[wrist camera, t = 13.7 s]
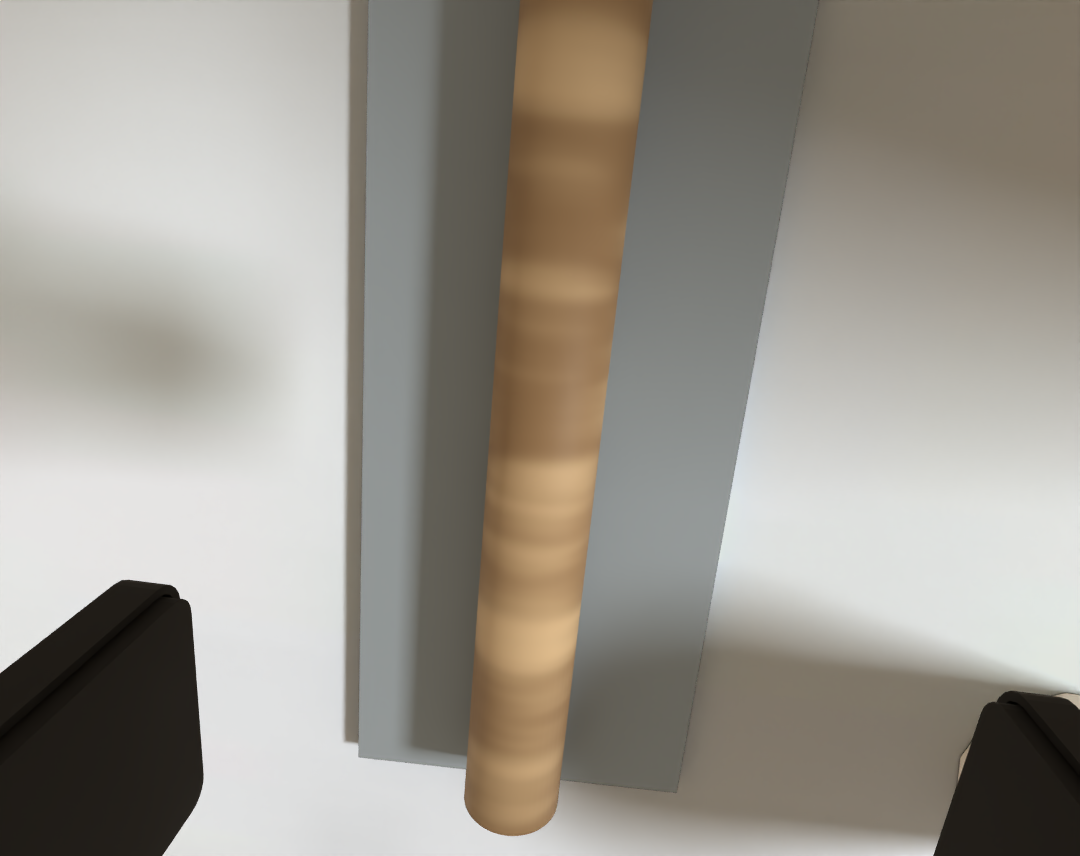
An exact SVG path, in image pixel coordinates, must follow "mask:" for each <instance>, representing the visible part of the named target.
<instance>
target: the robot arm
mask: <svg viewBox="0 0 1080 856" xmlns="http://www.w3.org/2000/svg"><path fill="white" fill-rule="evenodd" d="M202 785H203V761H202V748H201V734H200V721H199V707H198V694H197V681H196V667H195V654H194V640H193V627H192V614H191V607H190V605H189V603H188V601H186V600H184V599H180V596H179V593H178V591H177V590H176V588H175V587H173V586H171V585H165V584H157V583H149V582H141V581H133V580H121V581H120V582H118V583H116V584H114V585H113V586H112V587H110V588H109V589H108V590H107V591H105V592H104V593H103V594H101V595H100V596H99V597H98V598H96V599H95V600H94V601H92V602H91V603H90V604H89V605H87V606H86V607H85V608H83V609H82V610H81V611H80V612H78V613H77V614H76V615H74V616H73V617H72V618H71V619H69V620H68V621H67V622H65V623H64V624H63V625H62V626H60V627H59V628H58V629H56V630H55V631H54V632H53V633H51V634H50V635H49V636H48V637H46V638H45V639H44V640H42V641H41V642H40V643H39V644H37V645H36V646H35V647H33V648H32V649H31V650H30V651H28V652H27V653H26V654H24V655H23V656H22V657H21V658H19V659H18V660H17V661H15V662H14V663H13V664H12V665H10V666H9V667H8V668H6V669H5V670H4V671H3V672H1V673H0V856H162V855H163V854H164V852H165V851H166V849H167V848H168V847H169V845H170V844H171V842H172V841H173V839H174V838H175V836H176V835H177V833H178V832H179V830H180V829H181V827H182V826H183V824H184V823H185V821H186V820H187V819H188V817H189V816H190V814H191V813H192V811H193V809H194V808H195V806H196V804H197V801H198V799H199V797H200V793H201V790H202ZM933 856H1080V709H1079V708H1078V707H1077V706H1076V705H1074V704H1073V703H1072V702H1071V701H1069V700H1068V699H1065V698H1062V697H1056V696H1048V695H1040V694H1032V693H1024V692H1017V691H1009V692H1005V693H1003V694H1002V695H1001V696H1000V697H999V699H998V700H997V702H991V703H988V704H987V705H986V706H985V707H984V708H983V710H982V712H981V715H980V718H979V721H978V724H977V727H976V730H975V733H974V736H973V739H972V742H971V745H970V748H969V751H968V754H967V757H966V760H965V763H964V766H963V769H962V772H961V775H960V778H959V781H958V784H957V787H956V790H955V793H954V796H953V799H952V802H951V805H950V808H949V811H948V814H947V817H946V820H945V823H944V826H943V829H942V832H941V834H940V837H939V840H938V843H937V846H936V849H935V852H934V855H933Z"/></svg>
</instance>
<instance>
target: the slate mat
mask: <svg viewBox="0 0 1080 856" xmlns="http://www.w3.org/2000/svg"><path fill="white" fill-rule="evenodd" d="M818 4H819V0H653V5H652V14H651V22H650V31H649V39H648V47H647V56H646V64H645V72H644V81H643V89H642V98H641V106H640V114H639V123H638V131H637V140H636V148H635V156H634V165H633V173H632V181H631V190H630V198H629V207H628V215H627V223H626V232H625V240H624V248H623V257H622V265H621V274H620V282H619V290H618V299H617V307H616V316H615V324H614V332H613V341H612V349H611V357H610V366H609V374H608V383H607V391H606V399H605V408H604V416H603V425H602V433H601V441H600V450H599V458H598V466H597V475H596V483H595V492H594V500H593V508H592V517H591V525H590V534H589V542H588V550H587V559H586V567H585V575H584V584H583V592H582V601H581V609H580V617H579V626H578V634H577V643H576V651H575V659H574V668H573V676H572V684H571V693H570V701H569V710H568V718H567V726H566V735H565V743H564V752H563V760H562V768H561V777H560V780H566V781H575V782H584V783H593V784H602V785H610V786H619V787H628V788H637V789H646V790H655V791H664V792H673V793H677V788H678V782H679V777H680V771H681V766H682V760H683V754H684V749H685V743H686V738H687V732H688V727H689V721H690V716H691V710H692V704H693V699H694V693H695V688H696V682H697V677H698V671H699V665H700V660H701V654H702V649H703V643H704V638H705V632H706V627H707V621H708V615H709V610H710V604H711V599H712V593H713V588H714V582H715V576H716V571H717V565H718V560H719V554H720V549H721V543H722V538H723V532H724V526H725V521H726V515H727V510H728V504H729V499H730V493H731V488H732V482H733V476H734V471H735V465H736V460H737V454H738V449H739V443H740V437H741V432H742V426H743V421H744V415H745V410H746V404H747V399H748V393H749V387H750V382H751V376H752V371H753V365H754V360H755V354H756V348H757V343H758V337H759V332H760V326H761V321H762V315H763V310H764V304H765V298H766V293H767V287H768V282H769V276H770V271H771V265H772V259H773V254H774V248H775V243H776V237H777V232H778V226H779V221H780V215H781V209H782V204H783V198H784V193H785V187H786V182H787V176H788V170H789V165H790V159H791V154H792V148H793V143H794V137H795V132H796V126H797V120H798V115H799V109H800V104H801V98H802V93H803V87H804V81H805V76H806V70H807V65H808V59H809V54H810V48H811V43H812V37H813V31H814V26H815V20H816V15H817V9H818ZM519 8H520V0H368V67H367V143H366V220H365V296H364V372H363V448H362V524H361V600H360V677H359V753H358V757H360V758H369V759H378V760H387V761H396V762H405V763H414V764H423V765H432V766H441V767H450V768H459V769H466V765H467V751H468V737H469V722H470V708H471V694H472V679H473V665H474V651H475V637H476V622H477V608H478V594H479V580H480V565H481V551H482V537H483V522H484V508H485V494H486V480H487V465H488V451H489V437H490V422H491V408H492V394H493V380H494V365H495V351H496V337H497V323H498V308H499V294H500V280H501V265H502V251H503V237H504V223H505V208H506V194H507V180H508V166H509V151H510V137H511V123H512V108H513V94H514V80H515V66H516V51H517V37H518V23H519Z"/></svg>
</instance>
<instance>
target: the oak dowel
mask: <svg viewBox="0 0 1080 856" xmlns="http://www.w3.org/2000/svg"><path fill="white" fill-rule="evenodd" d="M652 5H653V0H520V8H519V23H518V37H517V51H516V66H515V80H514V94H513V108H512V123H511V137H510V151H509V166H508V180H507V194H506V208H505V223H504V237H503V251H502V265H501V280H500V294H499V308H498V323H497V337H496V351H495V365H494V380H493V394H492V408H491V422H490V437H489V451H488V465H487V480H486V494H485V508H484V522H483V537H482V551H481V565H480V580H479V594H478V608H477V622H476V637H475V651H474V665H473V679H472V694H471V708H470V722H469V737H468V751H467V765H466V779H465V794H464V800H465V805H466V808H467V810H468V812H469V814H470V816H471V817H472V818H473V819H474V820H475V821H476V822H477V823H478V824H479V825H480V826H482V827H483V828H485V829H487V830H489V831H491V832H494V833H497V834H501V835H507V836H519V835H525V834H529V833H532V832H535V831H537V830H539V829H540V828H542V827H543V826H545V825H546V824H547V823H548V822H549V821H550V820H551V818H552V817H553V815H554V813H555V811H556V808H557V802H558V793H559V785H560V777H561V768H562V760H563V752H564V743H565V735H566V726H567V718H568V710H569V701H570V693H571V684H572V676H573V668H574V659H575V651H576V643H577V634H578V626H579V617H580V609H581V601H582V592H583V584H584V575H585V567H586V559H587V550H588V542H589V534H590V525H591V517H592V508H593V500H594V492H595V483H596V475H597V466H598V458H599V450H600V441H601V433H602V425H603V416H604V408H605V399H606V391H607V383H608V374H609V366H610V357H611V349H612V341H613V332H614V324H615V316H616V307H617V299H618V290H619V282H620V274H621V265H622V257H623V248H624V240H625V232H626V223H627V215H628V207H629V198H630V190H631V181H632V173H633V165H634V156H635V148H636V140H637V131H638V123H639V114H640V106H641V98H642V89H643V81H644V72H645V64H646V56H647V47H648V39H649V31H650V22H651V14H652Z"/></svg>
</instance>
